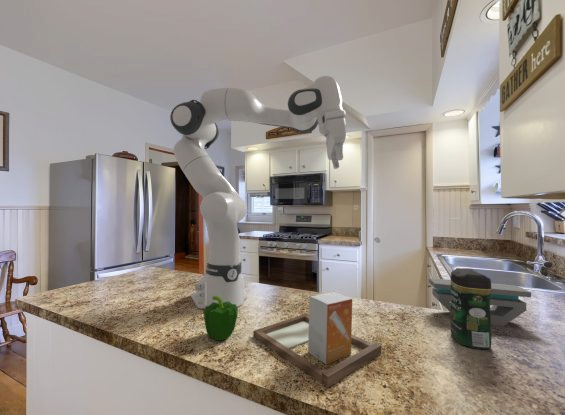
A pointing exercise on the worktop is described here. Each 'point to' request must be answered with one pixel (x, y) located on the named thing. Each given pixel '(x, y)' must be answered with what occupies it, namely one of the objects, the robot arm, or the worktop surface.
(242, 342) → the worktop surface
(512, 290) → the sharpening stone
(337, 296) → the small box
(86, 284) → the worktop surface
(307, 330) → the brown wooden frame
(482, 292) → the coffee jar
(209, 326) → the bell pepper
